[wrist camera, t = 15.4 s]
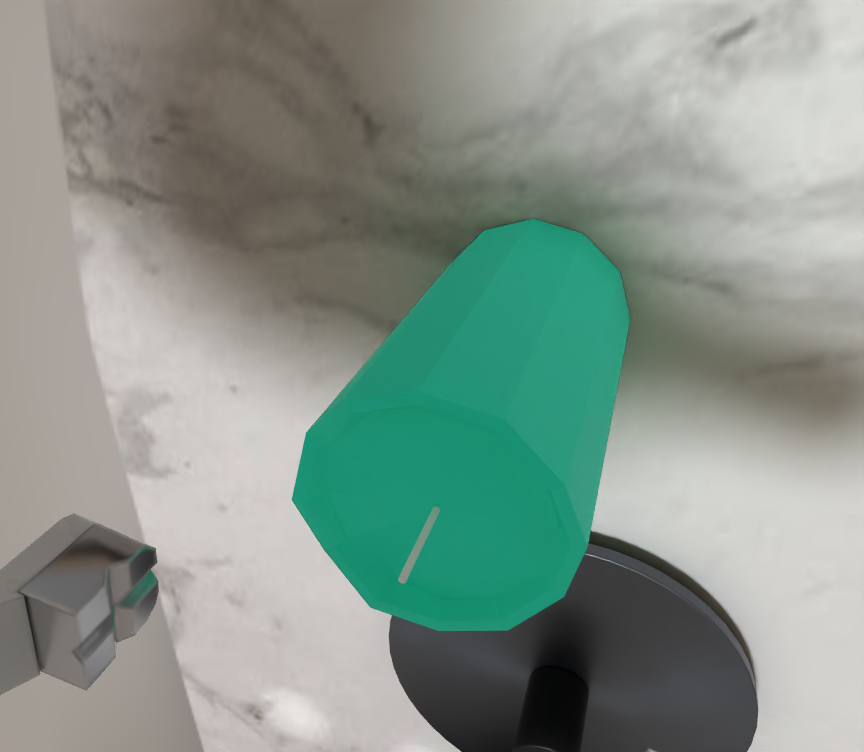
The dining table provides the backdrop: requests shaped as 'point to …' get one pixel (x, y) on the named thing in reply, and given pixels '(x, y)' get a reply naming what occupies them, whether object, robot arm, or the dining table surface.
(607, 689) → the pot lid
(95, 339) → the dining table surface
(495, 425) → the candle
